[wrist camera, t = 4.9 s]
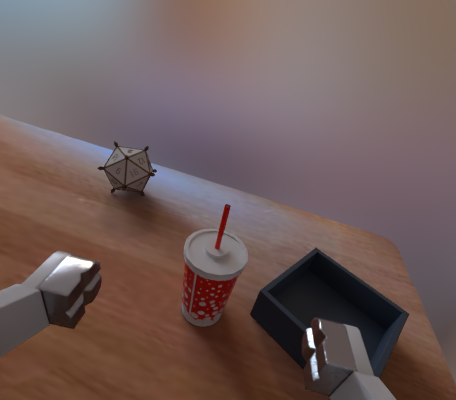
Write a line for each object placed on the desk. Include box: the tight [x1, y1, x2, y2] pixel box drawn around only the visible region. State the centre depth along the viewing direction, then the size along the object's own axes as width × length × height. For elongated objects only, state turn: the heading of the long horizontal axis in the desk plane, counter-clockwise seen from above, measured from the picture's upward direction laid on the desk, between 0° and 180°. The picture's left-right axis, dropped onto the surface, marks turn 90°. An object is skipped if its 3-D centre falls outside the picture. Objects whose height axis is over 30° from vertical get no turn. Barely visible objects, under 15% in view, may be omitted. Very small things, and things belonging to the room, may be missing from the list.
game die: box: [98, 142, 157, 196], centre depth 43 cm, size 9×8×10 cm
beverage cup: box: [181, 204, 248, 327], centre depth 26 cm, size 6×6×14 cm
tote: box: [250, 248, 409, 378], centre depth 30 cm, size 12×12×4 cm
